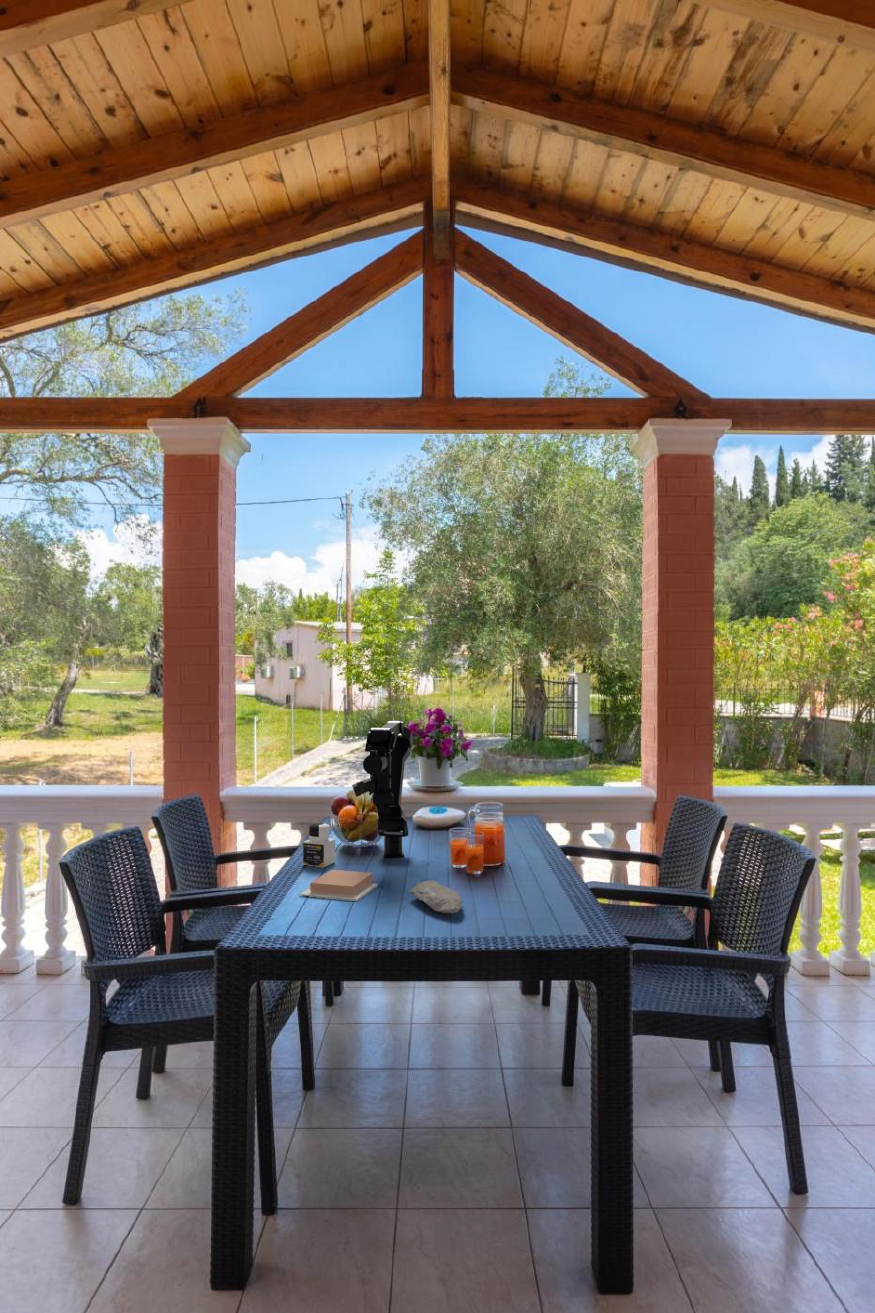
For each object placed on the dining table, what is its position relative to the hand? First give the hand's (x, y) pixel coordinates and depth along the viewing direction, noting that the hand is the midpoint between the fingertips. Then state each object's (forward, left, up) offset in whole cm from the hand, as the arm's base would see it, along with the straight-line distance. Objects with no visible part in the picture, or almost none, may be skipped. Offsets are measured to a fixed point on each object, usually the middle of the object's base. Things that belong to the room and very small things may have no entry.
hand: (381, 823), depth 242 cm
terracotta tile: (+15, -9, -11) cm, 21 cm away
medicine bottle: (-7, -18, -13) cm, 23 cm away
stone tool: (+40, +11, -14) cm, 43 cm away
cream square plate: (+23, -13, -13) cm, 30 cm away
